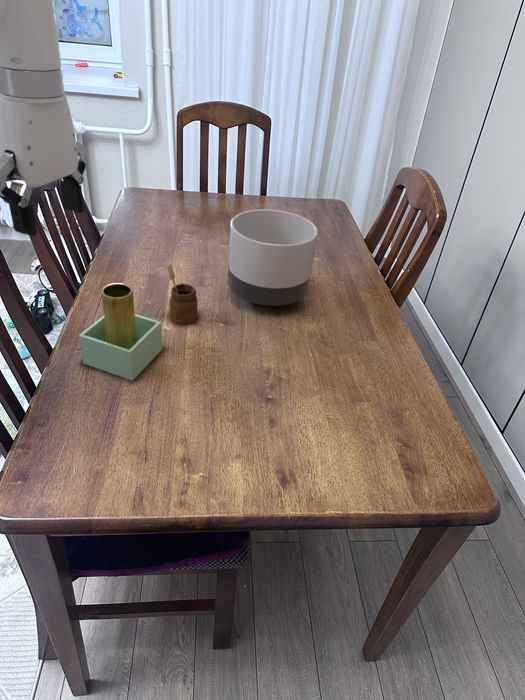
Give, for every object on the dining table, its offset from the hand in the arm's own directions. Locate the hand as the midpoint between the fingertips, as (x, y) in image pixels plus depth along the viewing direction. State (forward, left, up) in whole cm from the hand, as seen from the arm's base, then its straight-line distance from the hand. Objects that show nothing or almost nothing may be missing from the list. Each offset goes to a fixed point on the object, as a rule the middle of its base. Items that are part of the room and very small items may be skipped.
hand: (51, 221), depth 68 cm
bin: (+2, +11, -31) cm, 33 cm away
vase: (+2, +11, -31) cm, 33 cm away
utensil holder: (+5, +28, -31) cm, 42 cm away
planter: (+18, +46, -31) cm, 59 cm away
